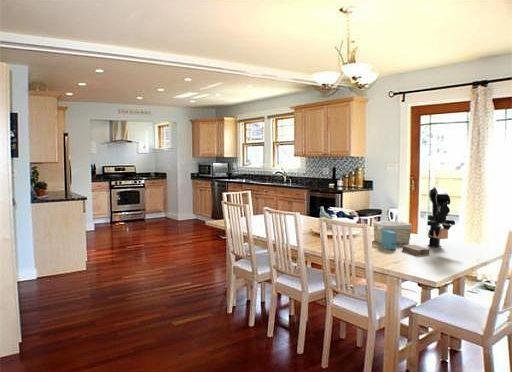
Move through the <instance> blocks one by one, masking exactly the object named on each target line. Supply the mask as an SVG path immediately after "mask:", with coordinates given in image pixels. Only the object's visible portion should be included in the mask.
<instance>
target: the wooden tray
mask: <svg viewBox="0 0 512 372" xmlns="http://www.w3.org/2000/svg"><path fill="white" fill-rule="evenodd" d="M401 248H402V249H401V250H402V252H404V253H408V254H411V255H413V256H416V257H419V255H421V256H427V255H430V248H427V247H424V246H421V245H417V244H407V245H404V244H403V245H402V247H401Z"/></svg>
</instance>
